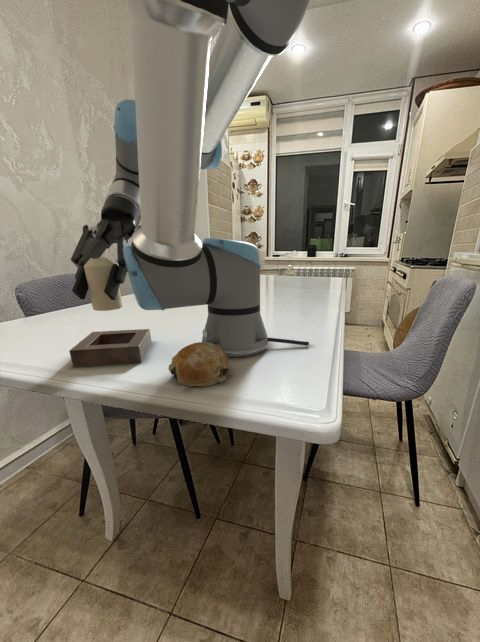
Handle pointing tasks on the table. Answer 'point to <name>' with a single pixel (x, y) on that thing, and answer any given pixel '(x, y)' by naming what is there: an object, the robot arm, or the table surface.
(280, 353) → the table surface
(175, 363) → the bread roll
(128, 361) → the candle block
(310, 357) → the table surface
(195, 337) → the table surface
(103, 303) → the candle
